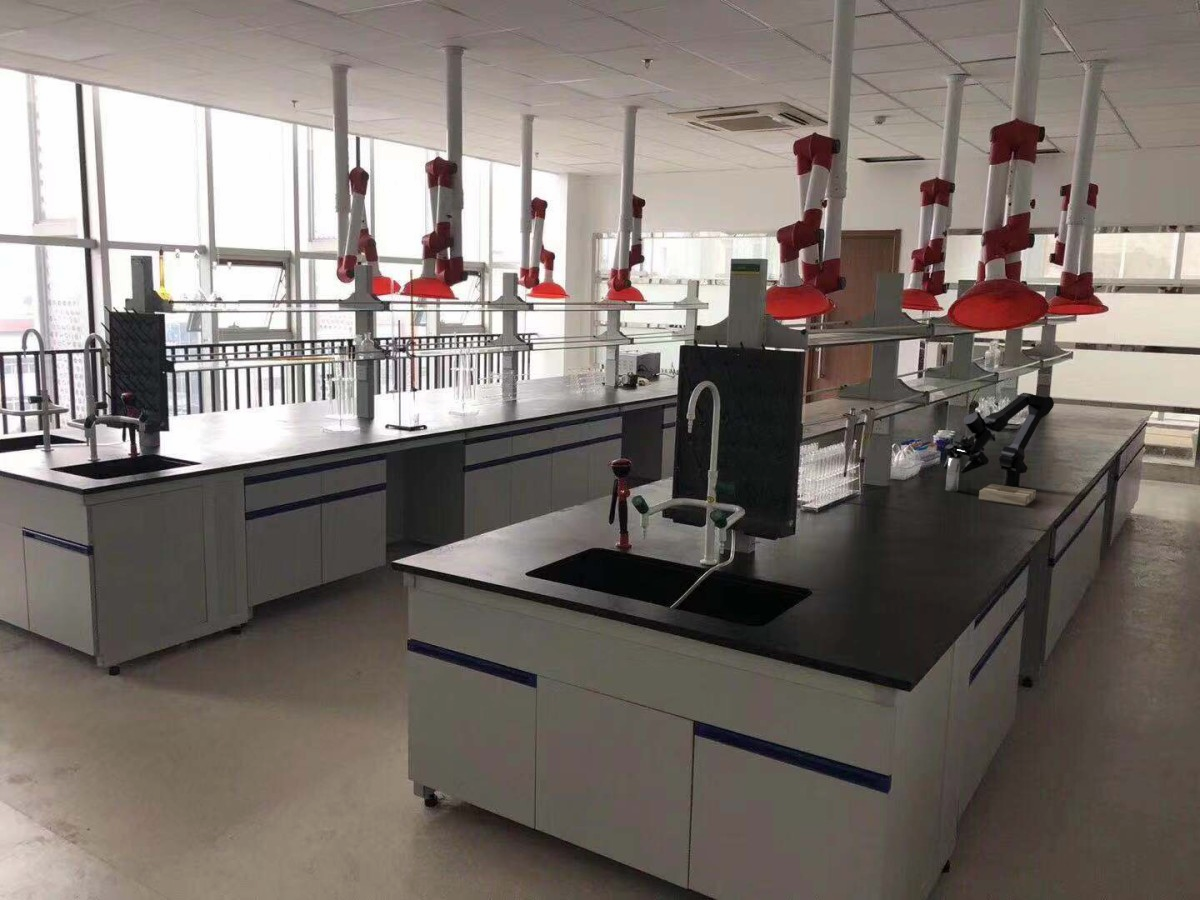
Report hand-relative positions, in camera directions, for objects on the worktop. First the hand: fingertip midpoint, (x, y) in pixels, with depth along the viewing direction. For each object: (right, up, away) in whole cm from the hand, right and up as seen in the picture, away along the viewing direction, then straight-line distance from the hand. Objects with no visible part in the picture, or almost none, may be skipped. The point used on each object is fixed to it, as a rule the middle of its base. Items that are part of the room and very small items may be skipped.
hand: (952, 470), depth 357 cm
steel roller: (0, -8, +1) cm, 8 cm away
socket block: (+15, -11, -13) cm, 23 cm away
